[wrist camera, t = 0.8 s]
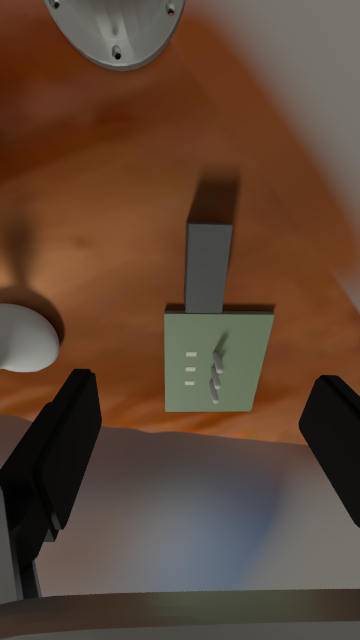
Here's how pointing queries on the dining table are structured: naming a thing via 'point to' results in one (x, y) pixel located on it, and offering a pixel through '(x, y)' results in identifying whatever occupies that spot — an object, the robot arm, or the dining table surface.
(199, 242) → the plug housing
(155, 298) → the dining table surface
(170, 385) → the board
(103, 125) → the dining table surface
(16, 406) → the dining table surface
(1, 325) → the flower in vase
